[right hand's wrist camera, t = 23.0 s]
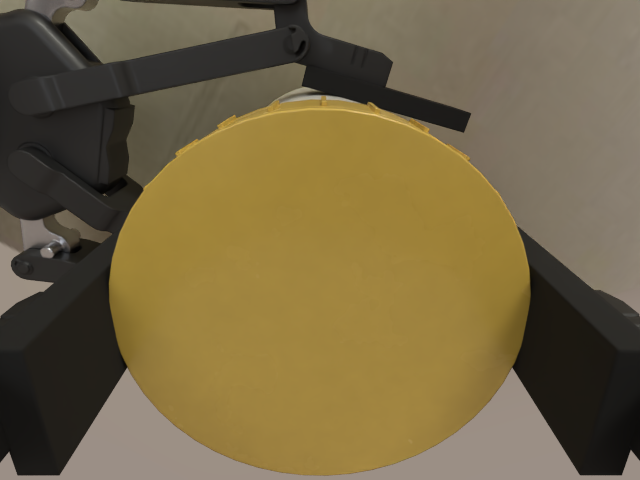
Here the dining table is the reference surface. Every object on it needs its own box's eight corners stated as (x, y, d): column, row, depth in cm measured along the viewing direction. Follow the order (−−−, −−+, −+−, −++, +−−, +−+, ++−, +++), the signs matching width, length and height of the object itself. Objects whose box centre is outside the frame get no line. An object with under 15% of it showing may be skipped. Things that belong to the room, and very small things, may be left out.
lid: (407, 451, 14) (421, 513, 12) (111, 367, 13) (74, 421, 11) (568, 179, 11) (622, 205, 9) (190, 31, 10) (157, 23, 8)
